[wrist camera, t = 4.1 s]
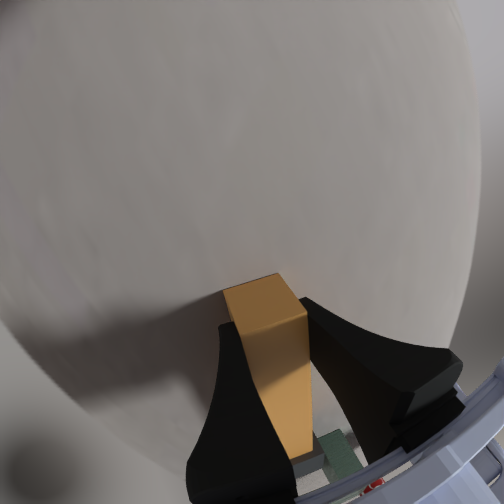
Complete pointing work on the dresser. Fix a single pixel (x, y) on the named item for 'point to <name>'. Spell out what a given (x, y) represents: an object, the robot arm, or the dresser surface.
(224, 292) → the plug
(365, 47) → the dresser surface
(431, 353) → the robot arm
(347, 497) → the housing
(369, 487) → the soda can
